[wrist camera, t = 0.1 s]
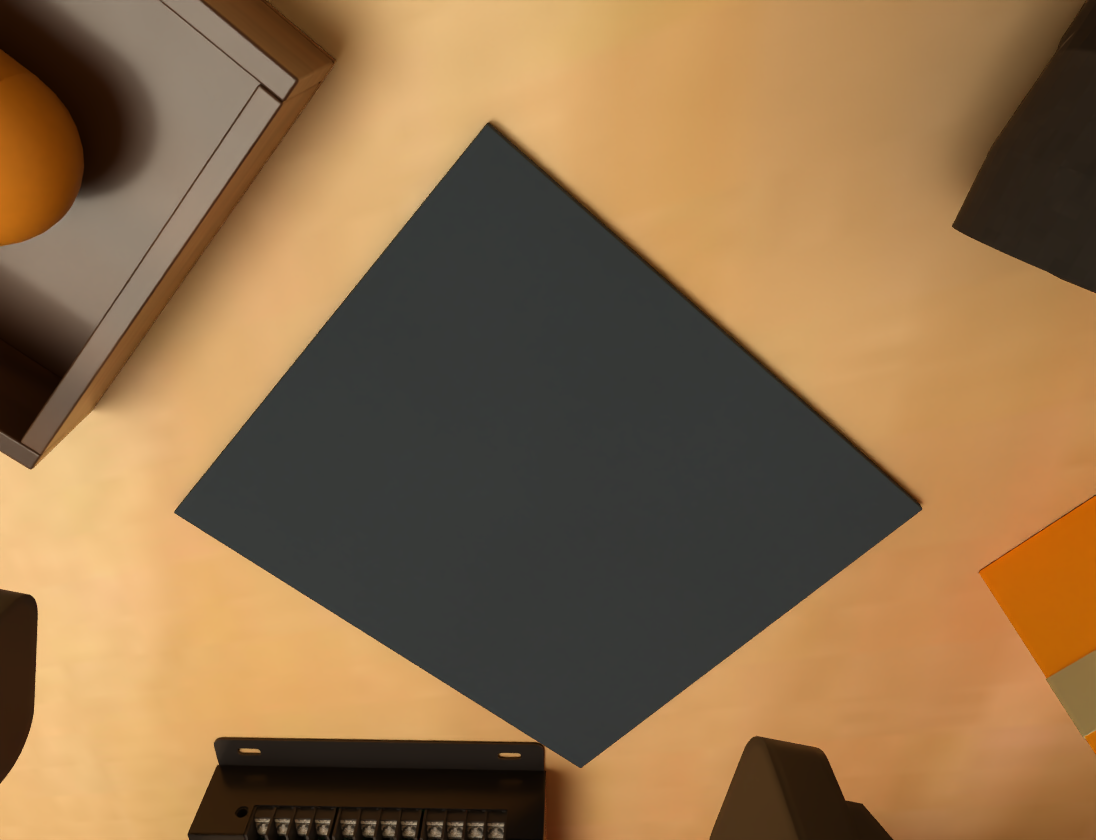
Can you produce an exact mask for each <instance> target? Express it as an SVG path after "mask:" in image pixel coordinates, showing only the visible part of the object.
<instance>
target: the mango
mask: <svg viewBox="0 0 1096 840" xmlns="http://www.w3.org/2000/svg"><path fill="white" fill-rule="evenodd" d="M83 171H84V157H83V147H82V144H81V140H80V137H79V133H78V130H77V127H76V125H75V123H74V121H73V119H72V117H71V115H70V113H69V111H68V109H67V108H66V107H65V106H64V104H63V103H62V102H61V101H60V99H59V98H58V97H57V95H56V94H55V93H54V92H53V91H52V90H51V89H50V88H49V87H48V86H46V85H45V84H44V83H43V82H42V81H41V80H40V79H39V78H38V77H37V76H35V75H34V74H33V73H31V72H30V71H29V70H27V69H26V68H25V67H23V66H22V65H21V64H20V63H18V62H17V61H16V60H14V59H13V58H12V57H10V56H9V55H8V54H6V53H5V52H4V51H2V50H1V49H0V246H4V245H9V244H15V243H20V242H24V241H26V240H28V239H31V238H33V237H36V236H38V235H40V234H42V233H44V232H46V231H47V230H48V229H50V228H51V227H52V226H53V225H55V224H56V223H57V222H59V221H60V220H61V219H62V218H63V217H64V216H65V215H66V213H67V212H68V211H69V209H70V208H71V206H72V205H73V203H74V201H75V199H76V197H77V195H78V192H79V190H80V187H81V183H82V177H83Z"/></svg>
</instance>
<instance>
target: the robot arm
mask: <svg viewBox="0 0 1096 840" xmlns="http://www.w3.org/2000/svg"><path fill="white" fill-rule="evenodd" d="M37 620H38V609H37V604H36V601H35V599H34V598H33V596H31V595H28V594H23V593H18V592H13V591H7V590H2V589H0V783H1V782H2V781H3V780H4V778H5V777H6V776H7V774H8V773H9V772H10V770H11V769H12V767H13V766H14V764H15V762H16V761H17V759H18V757H19V755H20V753H21V751H22V749H23V747H24V745H25V742H26V739H27V737H28V734H29V731H30V727H31V723H32V719H33V714H34V698H35V672H36V646H37ZM709 840H893V839H892V838H891V837H890V835H889V834H888V833H887V832H886V831H885V830H884V829H883V827H882V826H881V825H880V824H879V823H878V822H877V820H876V819H875V818H874V817H873V816H872V815H871V813H870V812H869V811H868V810H867V809H866V808H865V807H864V805H863V804H861V803H856V802H850V801H845V799H844V796H843V794H842V792H841V789H840V787H839V785H838V782H837V780H836V777H835V775H834V773H833V770H832V768H831V766H830V763H829V761H828V759H827V757H826V755H825V754H824V752H823V751H822V750H821V749H819V748H816V747H811V746H806V745H801V744H795V743H790V742H785V741H780V740H774V739H769V738H764V737H759V736H756V737H753V738H752V739H751V740H750V741H749V742H748V743H747V745H746V747H745V749H744V751H743V754H742V756H741V759H740V761H739V764H738V766H737V769H736V771H735V774H734V777H733V779H732V782H731V784H730V787H729V789H728V792H727V794H726V797H725V800H724V802H723V805H722V807H721V810H720V812H719V815H718V817H717V820H716V823H715V825H714V828H713V830H712V833H711V836H710V839H709Z"/></svg>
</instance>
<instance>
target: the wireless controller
mask: <svg viewBox="0 0 1096 840" xmlns="http://www.w3.org/2000/svg"><path fill="white" fill-rule="evenodd" d="M214 747H215V751H216V755H217V759H218V762H219V765H217V767H216V769H215V772H214V774H213V776H212V779H211V781H210V783H209V786H208V788H207V790H206V793H205V795H204V797H203V800H202V802H201V804H200V806H199V809H198V811H197V813H196V816H195V818H194V820H193V823H192V825H191V827H190V830H189V832H188V837H189V840H546V771H544V748H543V747H542V746H541V745H540V744H537V743H486V742H426V741H365V740H304V739H243V738H219V739H217V740H216V741H215V742H214ZM239 748H249V749H259V750H260V751H261V753H260V754H242V753H240V752H239V751H238V749H239ZM499 753H519V754H521V757H520V758H500V757H499V756H498V754H499Z"/></svg>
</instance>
